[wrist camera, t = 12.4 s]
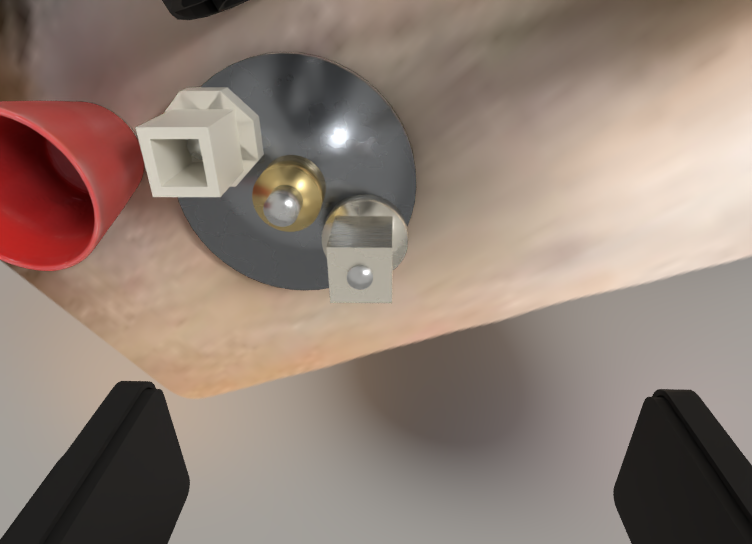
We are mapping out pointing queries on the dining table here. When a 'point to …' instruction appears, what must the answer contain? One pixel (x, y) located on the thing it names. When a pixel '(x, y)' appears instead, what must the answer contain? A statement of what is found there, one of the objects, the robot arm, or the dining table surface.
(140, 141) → the open ended square duct
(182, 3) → the car wheel rim
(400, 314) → the dining table surface
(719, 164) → the dining table surface
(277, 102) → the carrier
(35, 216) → the flower pot
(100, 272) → the dining table surface
